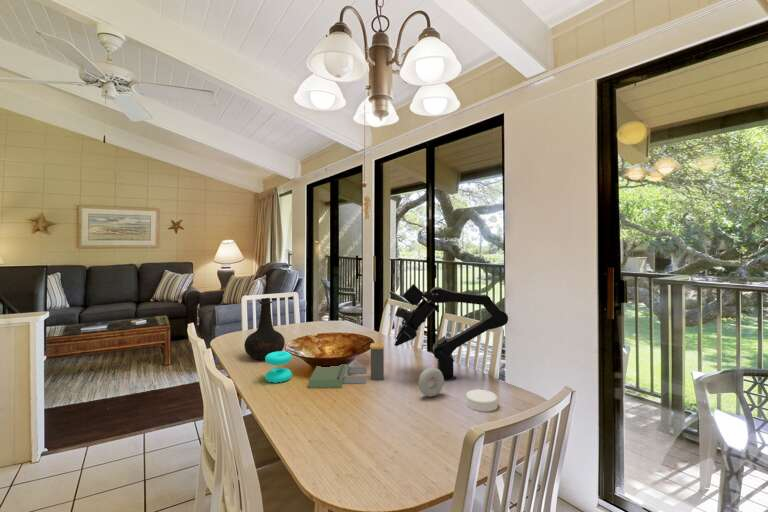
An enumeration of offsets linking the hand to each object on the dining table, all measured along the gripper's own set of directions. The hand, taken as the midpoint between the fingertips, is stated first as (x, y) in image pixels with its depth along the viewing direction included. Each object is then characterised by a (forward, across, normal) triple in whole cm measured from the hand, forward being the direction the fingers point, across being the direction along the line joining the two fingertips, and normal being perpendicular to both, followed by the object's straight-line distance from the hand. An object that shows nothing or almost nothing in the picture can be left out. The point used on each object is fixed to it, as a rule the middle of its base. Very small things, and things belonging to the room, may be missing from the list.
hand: (396, 342), depth 145 cm
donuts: (+40, +7, -26) cm, 48 cm away
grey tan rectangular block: (+15, +3, +3) cm, 16 cm away
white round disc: (-8, +24, +31) cm, 41 cm away
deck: (+25, +4, -8) cm, 26 cm away
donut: (+2, +19, +19) cm, 27 cm away
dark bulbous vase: (+51, -20, -39) cm, 67 cm away
